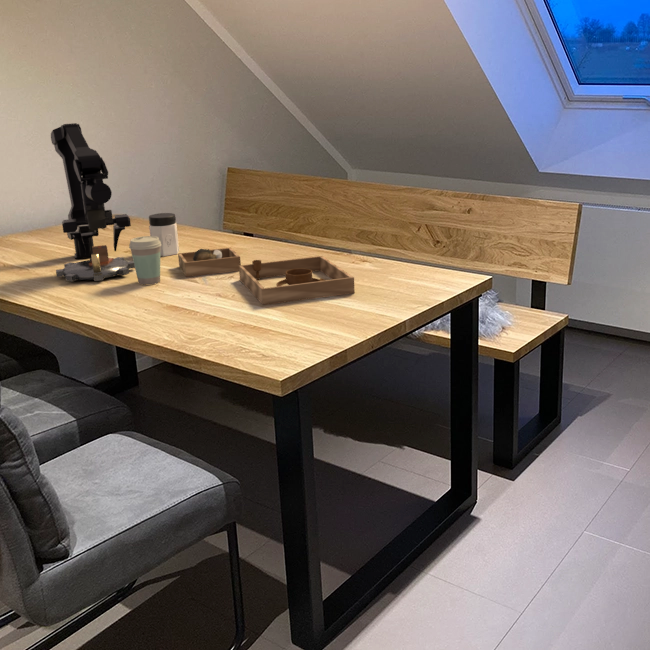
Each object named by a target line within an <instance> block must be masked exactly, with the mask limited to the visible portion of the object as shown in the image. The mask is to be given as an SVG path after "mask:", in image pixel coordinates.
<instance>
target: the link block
mask: <svg viewBox="0 0 650 650" xmlns="http://www.w3.org/2000/svg"><path fill="white" fill-rule="evenodd" d="M92 249H93V254H99V260H100V262H107V261H109V258H110V257H109V252H108V246H107V244H104V245H94V246H93V247H92Z"/></svg>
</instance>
